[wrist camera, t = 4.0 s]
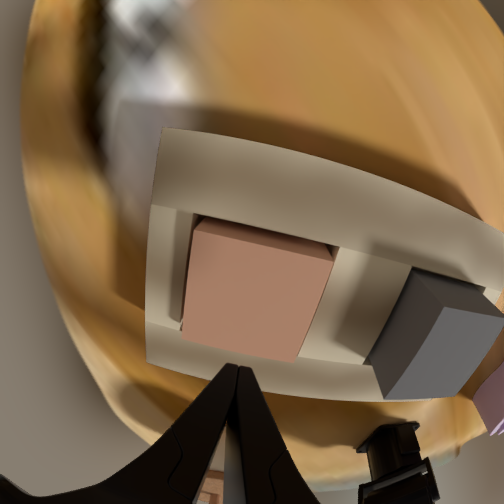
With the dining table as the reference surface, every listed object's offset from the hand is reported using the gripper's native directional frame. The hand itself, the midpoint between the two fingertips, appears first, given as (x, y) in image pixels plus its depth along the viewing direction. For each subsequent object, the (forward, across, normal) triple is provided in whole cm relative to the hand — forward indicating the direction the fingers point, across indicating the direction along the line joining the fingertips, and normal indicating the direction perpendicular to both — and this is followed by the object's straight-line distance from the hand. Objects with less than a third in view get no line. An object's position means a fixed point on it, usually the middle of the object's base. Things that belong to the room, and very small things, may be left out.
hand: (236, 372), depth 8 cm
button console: (+10, -6, 0) cm, 11 cm away
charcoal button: (+6, -11, 0) cm, 13 cm away
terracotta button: (+8, 0, 0) cm, 8 cm away
